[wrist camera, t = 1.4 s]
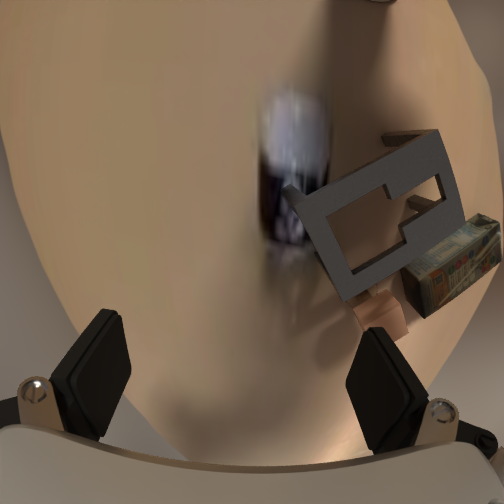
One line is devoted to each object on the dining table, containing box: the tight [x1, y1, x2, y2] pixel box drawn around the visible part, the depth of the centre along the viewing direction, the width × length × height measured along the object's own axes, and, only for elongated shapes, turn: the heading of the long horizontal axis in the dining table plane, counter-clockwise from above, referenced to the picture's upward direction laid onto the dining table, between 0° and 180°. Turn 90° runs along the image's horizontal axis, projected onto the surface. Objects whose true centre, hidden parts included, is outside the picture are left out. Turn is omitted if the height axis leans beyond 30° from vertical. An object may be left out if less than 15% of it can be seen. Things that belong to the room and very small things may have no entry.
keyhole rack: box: [280, 129, 466, 302], centre depth 29 cm, size 17×11×11 cm, turn 120°
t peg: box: [347, 285, 409, 342], centre depth 34 cm, size 5×5×10 cm
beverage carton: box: [400, 213, 502, 319], centre depth 34 cm, size 8×19×7 cm, turn 118°
